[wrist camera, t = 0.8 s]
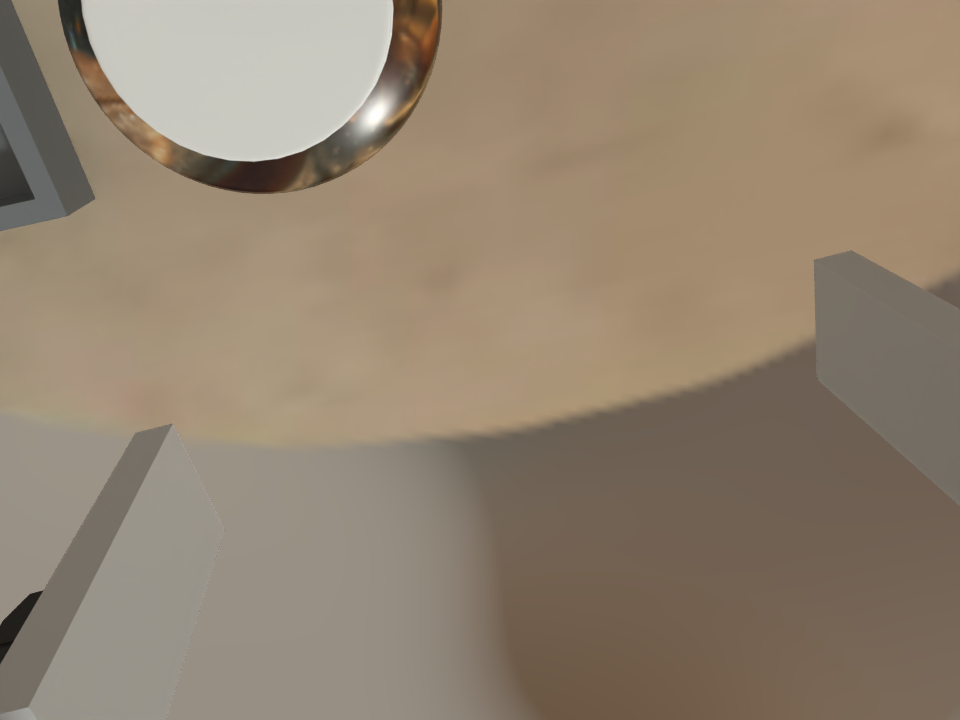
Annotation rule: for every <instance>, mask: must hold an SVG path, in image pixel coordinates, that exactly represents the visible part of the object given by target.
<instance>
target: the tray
mask: <svg viewBox="0 0 960 720" xmlns="http://www.w3.org/2000/svg"><path fill="white" fill-rule="evenodd" d="M94 199H95V197H94V194H93V192H92V190H91V187H90V185H89V183H88V180H87V178H86V176H85V173H84V171H83V169H82V166H81V164H80V161H79V159H78V157H77V154H76V152H75V150H74V147H73V145H72V143H71V140H70V138H69V136H68V133H67V131H66V129H65V126H64V124H63V121H62V119H61V117H60V114H59V112H58V110H57V107H56V105H55V103H54V100H53V98H52V96H51V93H50V91H49V89H48V86H47V84H46V81H45V79H44V77H43V74H42V72H41V70H40V67H39V65H38V63H37V60H36V58H35V56H34V53H33V51H32V49H31V46H30V44H29V41H28V39H27V37H26V34H25V32H24V30H23V27H22V25H21V23H20V20H19V18H18V16H17V13H16V11H15V9H14V6H13V4H12V1H11V0H0V231H3V230H7V229H12V228H16V227H21V226H25V225H30V224H34V223H39V222H43V221H48V220H52V219H57V218H61V217H66V216H68V215H70V214H72V213H73V212H75V211H76V210H78V209H80V208H81V207H83V206H85V205H86V204H88V203H89V202H91V201H93V200H94Z"/></svg>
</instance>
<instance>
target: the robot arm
mask: <svg viewBox="0 0 960 720" xmlns="http://www.w3.org/2000/svg"><path fill="white" fill-rule="evenodd" d="M814 281H815V322H816V363H817V379H818V380H819V381H820V382H821V383H822V384H823V385H824V386H825V387H827V388H828V389H829V390H830V391H831V392H832V393H833V394H834V395H836V396H837V397H838V398H839V399H840V400H841V401H842V402H843V403H844V404H846V405H847V406H848V407H849V408H850V409H851V410H852V411H854V412H855V413H856V414H857V415H858V416H859V417H860V418H861V419H863V420H864V421H865V422H866V423H867V424H868V425H869V426H870V427H872V428H873V429H874V430H875V431H876V432H877V433H878V434H879V435H881V436H882V437H883V438H884V439H885V440H886V441H887V442H888V443H890V444H891V445H892V446H893V447H894V448H895V449H896V450H897V451H899V452H900V453H901V454H902V455H903V456H904V457H905V458H906V459H908V460H909V461H910V462H911V463H912V464H913V465H915V467H917V468H918V469H919V470H920V471H921V472H922V473H923V474H925V475H926V476H927V477H928V478H929V479H930V480H931V481H932V482H934V483H935V484H936V485H937V486H938V487H939V488H940V489H941V490H943V491H944V492H945V493H946V494H947V495H948V496H949V497H950V498H952V499H953V500H954V501H955V502H956V503H957V504H958V505H959V506H960V309H958V308H956V307H955V306H953V305H951V304H949V303H947V302H946V301H944V300H942V299H940V298H938V297H936V296H934V295H933V294H931V293H929V292H927V291H925V290H923V289H922V288H920V287H918V286H916V285H914V284H912V283H911V282H909V281H907V280H905V279H903V278H901V277H899V276H898V275H896V274H894V273H892V272H890V271H888V270H887V269H885V268H883V267H881V266H879V265H877V264H876V263H874V262H872V261H870V260H868V259H866V258H864V257H863V256H861V255H859V254H857V253H855V252H853V251H852V250H851V251H847V252H843V253H839V254H835V255H832V256H828V257H824V258H820V259H816V260H814ZM224 531H225V530H224V527H223V525H222V523H221V521H220V519H219V517H218V515H217V513H216V511H215V509H214V507H213V505H212V503H211V501H210V499H209V497H208V495H207V493H206V490H205V488H204V486H203V484H202V482H201V480H200V478H199V476H198V474H197V472H196V470H195V468H194V466H193V464H192V462H191V460H190V458H189V456H188V454H187V451H186V449H185V447H184V445H183V443H182V441H181V439H180V437H179V435H178V433H177V431H176V429H175V427H174V425H173V424H169V425H165V426H161V427H157V428H153V429H149V430H145V431H141V432H138V433H135V435H134V436H133V438H132V440H131V442H130V443H129V445H128V447H127V448H126V450H125V452H124V454H123V455H122V457H121V459H120V461H119V462H118V464H117V466H116V467H115V469H114V471H113V472H112V474H111V476H110V477H109V479H108V481H107V483H106V484H105V486H104V488H103V489H102V491H101V493H100V495H99V496H98V498H97V500H96V502H95V503H94V505H93V507H92V509H91V510H90V512H89V514H88V515H87V517H86V519H85V520H84V522H83V524H82V525H81V527H80V529H79V531H78V532H77V534H76V536H75V537H74V539H73V541H72V543H71V544H70V546H69V548H68V549H67V551H66V553H65V555H64V556H63V558H62V560H61V561H60V563H59V565H58V567H57V568H56V570H55V572H54V573H53V575H52V577H51V579H50V580H49V582H48V584H47V585H46V587H45V589H44V590H43V591H40V592H36V593H32V594H30V595H29V596H28V597H27V598H25V599H24V600H23V601H22V602H21V604H19V605H18V606H17V608H16V609H14V611H12V612H11V613H10V614H9V615H8V616H7V617H6V618H5V619H4V620H3V622H2V623H1V625H0V720H166V718H167V715H168V712H169V709H170V705H171V702H172V699H173V696H174V693H175V689H176V686H177V683H178V680H179V676H180V673H181V670H182V667H183V663H184V660H185V657H186V654H187V650H188V647H189V644H190V641H191V638H192V634H193V631H194V628H195V624H196V621H197V618H198V615H199V612H200V608H201V605H202V602H203V599H204V595H205V592H206V589H207V586H208V583H209V579H210V576H211V573H212V570H213V566H214V563H215V560H216V557H217V553H218V550H219V547H220V544H221V541H222V537H223V534H224Z"/></svg>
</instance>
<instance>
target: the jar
mask: <svg viewBox="0 0 960 720" xmlns="http://www.w3.org/2000/svg"><path fill="white" fill-rule="evenodd" d="M58 5H59V11H60V17H61V22H62V26H63V31H64V34H65V38H66V41H67V44H68V47H69V50H70V53H71V55H72V58H73V60H74V63H75V65H76V67H77V69H78V71H79V73H80V75H81V77H82V79H83V81H84V83H85V85H86V87H87V88H88V90H89V92H90V93H91V95H92V97H93V98H94V100H95V101H96V102H97V104H98V105H99V107H100V108H101V109H102V111H103V112H104V113H105V115H106V116H107V117H108V118H109V119H110V120H111V122H112V123H113V124H114V125H115V126H116V127H117V128H118V129H119V130H120V131H121V132H122V133H123V134H124V135H125V136H126V137H127V138H128V139H129V140H130V141H131V142H132V143H133V144H135V145H136V146H137V147H138V148H139V149H140V150H142V151H143V152H144V153H146V154H147V155H148V156H150V157H151V158H152V159H154V160H156V161H157V162H159V163H160V164H162V165H164V166H165V167H167V168H169V169H171V170H173V171H174V172H176V173H178V174H180V175H182V176H185V177H187V178H189V179H192V180H194V181H197V182H199V183H202V184H205V185H208V186H212V187H216V188H220V189H224V190H229V191H235V192H241V193H252V194H274V193H286V192H292V191H298V190H303V189H306V188H310V187H314V186H317V185H320V184H323V183H326V182H329V181H331V180H333V179H335V178H337V177H340V176H342V175H344V174H346V173H348V172H349V171H351V170H353V169H355V168H357V167H358V166H360V165H361V164H363V163H364V162H365V161H367V160H368V159H370V158H371V157H372V156H374V155H375V154H376V153H377V152H378V151H380V150H381V149H382V148H383V147H384V146H385V145H386V144H387V143H388V142H389V141H390V140H391V139H392V138H393V137H394V136H395V135H396V134H397V132H398V131H399V130H400V129H401V128H402V126H403V125H404V124H405V122H406V121H407V120H408V118H409V117H410V115H411V114H412V112H413V111H414V109H415V107H416V106H417V104H418V102H419V100H420V98H421V96H422V94H423V92H424V90H425V88H426V86H427V83H428V81H429V78H430V75H431V73H432V69H433V66H434V63H435V59H436V55H437V51H438V46H439V41H440V33H441V24H442V0H58Z"/></svg>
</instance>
